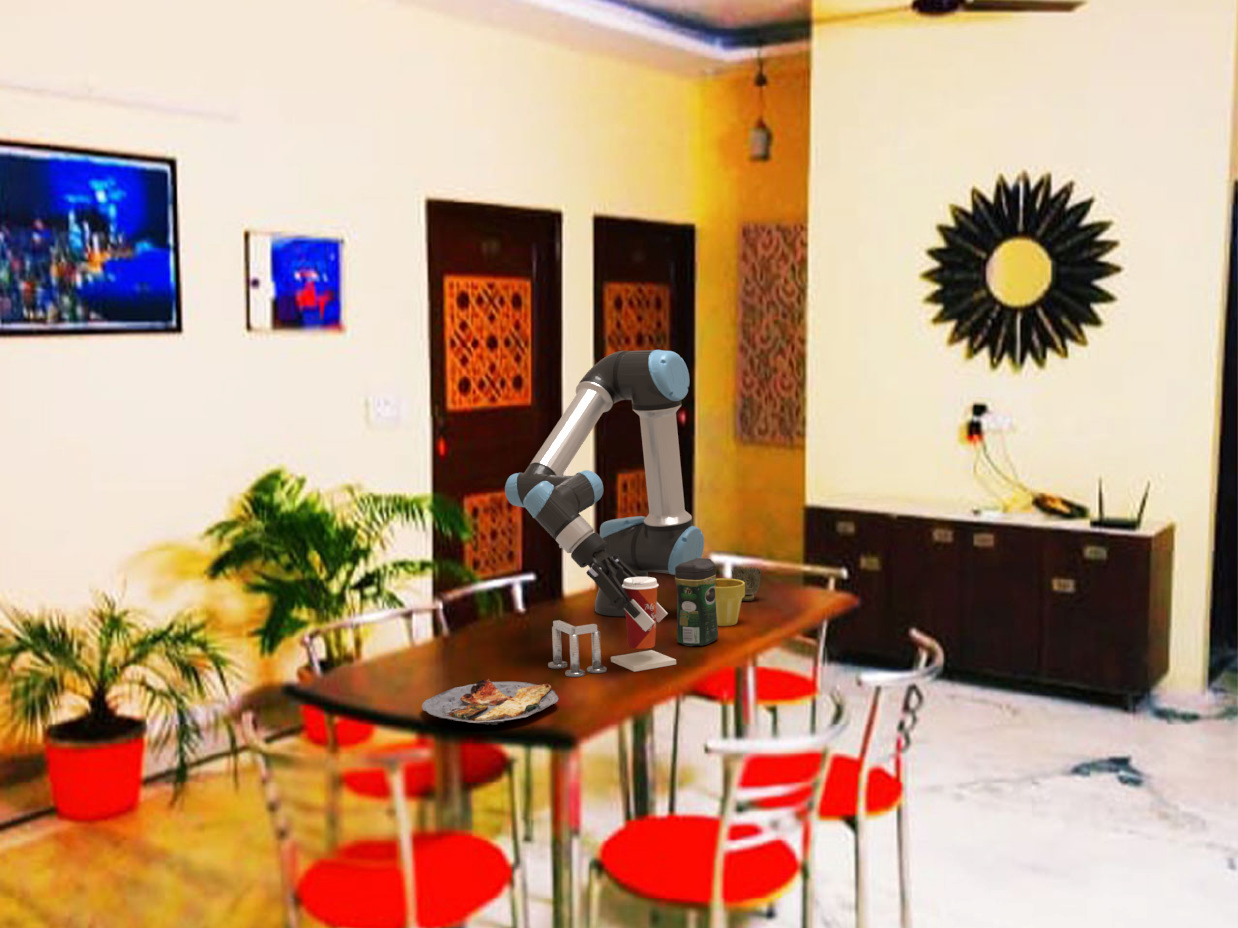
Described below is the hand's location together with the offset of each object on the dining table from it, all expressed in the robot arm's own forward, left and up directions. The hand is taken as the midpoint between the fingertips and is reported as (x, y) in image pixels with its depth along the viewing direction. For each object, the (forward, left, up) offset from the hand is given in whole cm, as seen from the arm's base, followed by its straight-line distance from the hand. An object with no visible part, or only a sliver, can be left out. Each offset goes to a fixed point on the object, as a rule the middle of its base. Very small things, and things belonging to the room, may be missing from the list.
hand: (656, 622), depth 269 cm
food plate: (+10, -42, -9) cm, 44 cm away
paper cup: (-3, -2, -5) cm, 6 cm away
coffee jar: (-12, +17, -9) cm, 23 cm away
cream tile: (-3, -2, -9) cm, 9 cm away
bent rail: (-7, -15, -9) cm, 19 cm away
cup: (-42, +51, -9) cm, 67 cm away
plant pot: (-24, +32, -9) cm, 41 cm away
